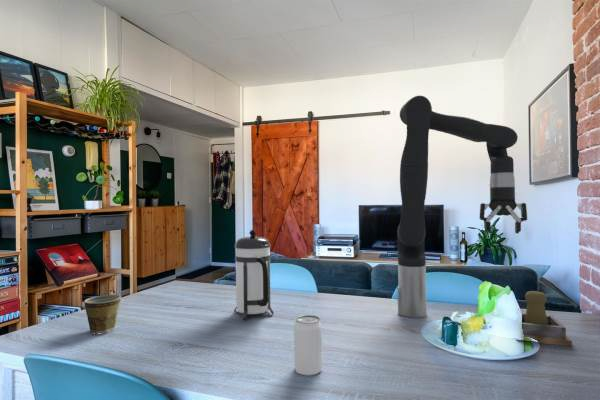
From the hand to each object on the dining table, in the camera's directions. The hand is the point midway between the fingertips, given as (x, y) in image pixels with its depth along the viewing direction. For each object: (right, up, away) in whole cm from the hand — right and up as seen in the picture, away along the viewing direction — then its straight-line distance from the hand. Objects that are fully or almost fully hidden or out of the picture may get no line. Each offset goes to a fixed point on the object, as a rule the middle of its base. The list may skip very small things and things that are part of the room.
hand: (502, 232), depth 123 cm
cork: (-2, -27, -20) cm, 33 cm away
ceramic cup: (-134, -30, -11) cm, 138 cm away
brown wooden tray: (-2, -28, -20) cm, 34 cm away
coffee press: (-86, -29, +2) cm, 91 cm away
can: (-69, -29, -40) cm, 84 cm away
